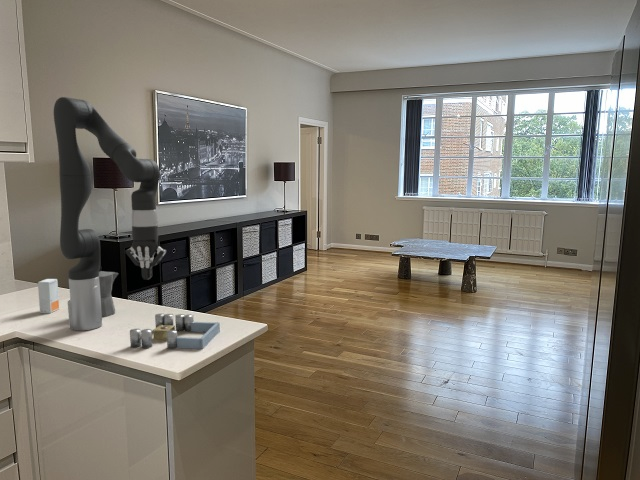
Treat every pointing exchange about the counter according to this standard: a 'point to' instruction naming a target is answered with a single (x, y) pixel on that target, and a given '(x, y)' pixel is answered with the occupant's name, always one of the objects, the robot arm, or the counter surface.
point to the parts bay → (200, 343)
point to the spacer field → (167, 319)
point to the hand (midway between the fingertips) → (147, 279)
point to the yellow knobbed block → (162, 332)
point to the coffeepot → (106, 292)
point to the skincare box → (48, 295)
